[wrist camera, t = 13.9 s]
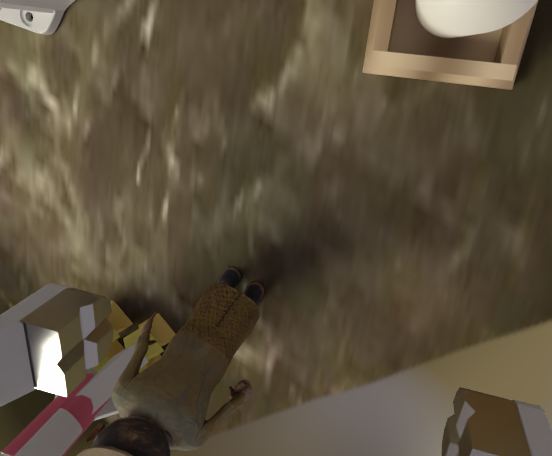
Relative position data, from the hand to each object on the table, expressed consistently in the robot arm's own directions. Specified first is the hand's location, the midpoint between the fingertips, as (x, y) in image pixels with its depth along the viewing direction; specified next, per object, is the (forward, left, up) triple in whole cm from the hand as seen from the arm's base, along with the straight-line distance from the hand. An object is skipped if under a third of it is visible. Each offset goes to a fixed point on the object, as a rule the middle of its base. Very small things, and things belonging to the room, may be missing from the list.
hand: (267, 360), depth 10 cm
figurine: (-11, -20, -31) cm, 39 cm away
